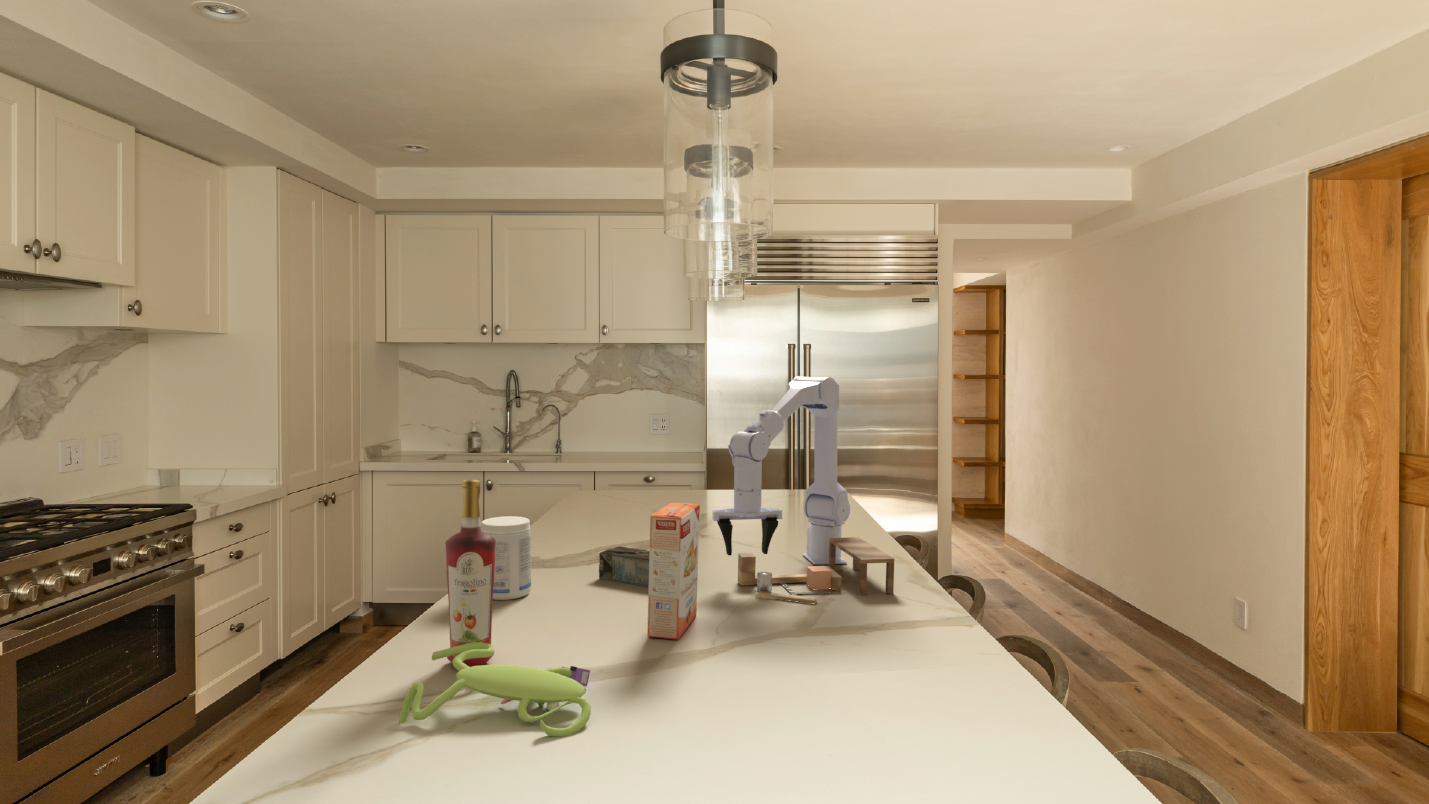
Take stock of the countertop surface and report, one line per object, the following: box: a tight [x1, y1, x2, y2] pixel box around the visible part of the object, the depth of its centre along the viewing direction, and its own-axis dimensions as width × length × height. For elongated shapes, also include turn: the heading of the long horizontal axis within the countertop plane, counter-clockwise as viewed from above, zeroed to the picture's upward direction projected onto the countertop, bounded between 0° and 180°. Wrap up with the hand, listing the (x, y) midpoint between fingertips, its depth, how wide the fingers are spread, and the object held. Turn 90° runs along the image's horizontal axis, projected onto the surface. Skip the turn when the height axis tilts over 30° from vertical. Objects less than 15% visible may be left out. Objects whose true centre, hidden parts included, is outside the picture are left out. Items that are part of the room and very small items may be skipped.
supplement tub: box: [481, 515, 532, 601], centre depth 161 cm, size 10×10×15 cm
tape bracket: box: [779, 583, 830, 595], centre depth 170 cm, size 12×8×1 cm, turn 11°
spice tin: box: [756, 571, 773, 593], centre depth 165 cm, size 3×3×4 cm
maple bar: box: [754, 590, 818, 604], centre depth 161 cm, size 2×12×1 cm, turn 68°
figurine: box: [398, 642, 592, 738], centre depth 111 cm, size 18×27×6 cm
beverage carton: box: [598, 546, 650, 587], centre depth 172 cm, size 8×19×7 cm, turn 63°
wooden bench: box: [827, 536, 895, 595], centre depth 175 cm, size 20×7×7 cm, turn 11°
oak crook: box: [737, 552, 842, 591], centre depth 170 cm, size 20×9×6 cm, turn 101°
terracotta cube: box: [806, 565, 831, 590], centre depth 170 cm, size 4×4×4 cm
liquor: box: [445, 479, 496, 667], centre depth 124 cm, size 7×7×28 cm
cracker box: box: [647, 502, 701, 640], centre depth 143 cm, size 14×6×21 cm, turn 168°
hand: (746, 553), depth 171 cm, fingers open, 7 cm apart
